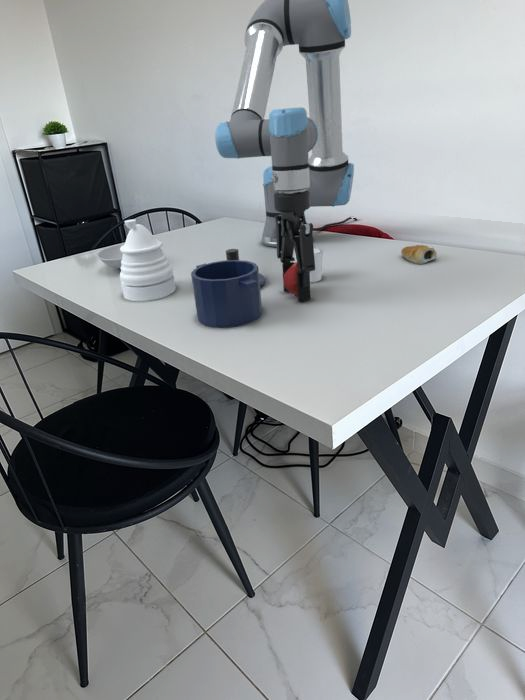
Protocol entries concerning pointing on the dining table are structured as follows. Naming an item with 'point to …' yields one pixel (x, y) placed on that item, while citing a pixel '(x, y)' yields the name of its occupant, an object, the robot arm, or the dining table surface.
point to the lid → (234, 255)
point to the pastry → (419, 254)
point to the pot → (227, 293)
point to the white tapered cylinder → (316, 265)
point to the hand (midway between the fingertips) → (296, 294)
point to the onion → (291, 279)
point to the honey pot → (144, 266)
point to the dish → (111, 256)
